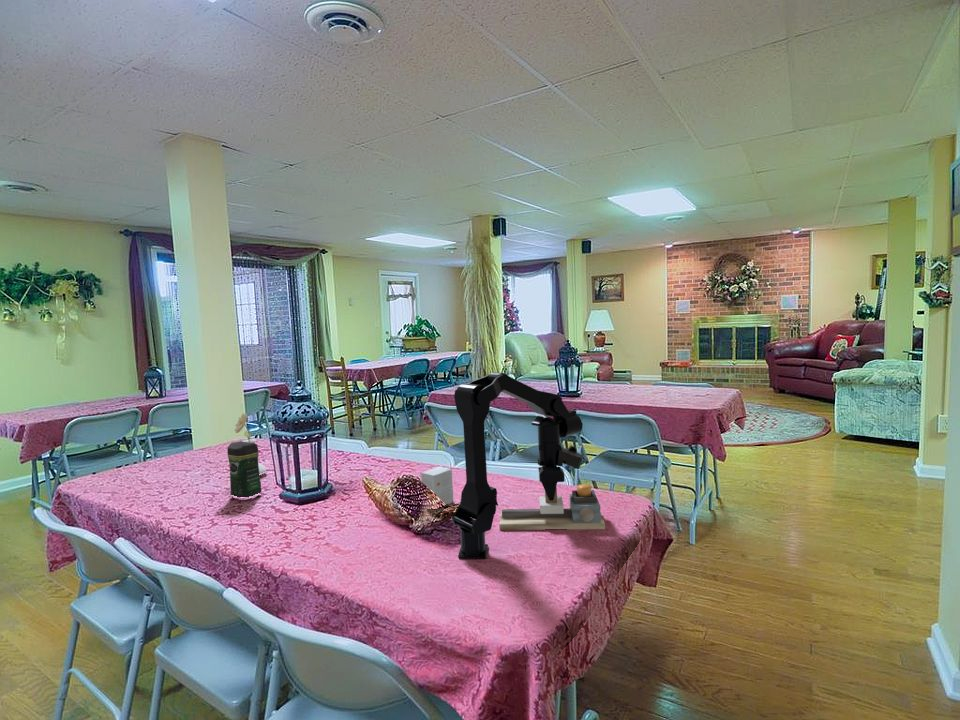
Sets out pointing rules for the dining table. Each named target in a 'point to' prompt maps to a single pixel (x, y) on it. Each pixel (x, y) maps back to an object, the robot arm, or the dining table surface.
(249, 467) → the coffee jar
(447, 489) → the small box
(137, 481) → the dining table surface
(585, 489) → the button
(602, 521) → the rail base
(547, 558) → the dining table surface
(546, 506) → the carriage
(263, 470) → the flower in vase
